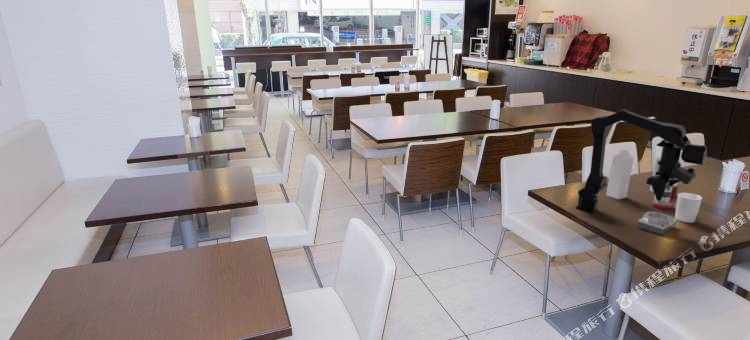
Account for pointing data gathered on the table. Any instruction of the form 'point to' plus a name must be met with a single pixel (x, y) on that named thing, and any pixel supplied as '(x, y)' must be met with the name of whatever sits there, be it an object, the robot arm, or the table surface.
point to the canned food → (671, 202)
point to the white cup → (687, 207)
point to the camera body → (657, 222)
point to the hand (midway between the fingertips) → (661, 199)
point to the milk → (620, 175)
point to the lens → (664, 197)
